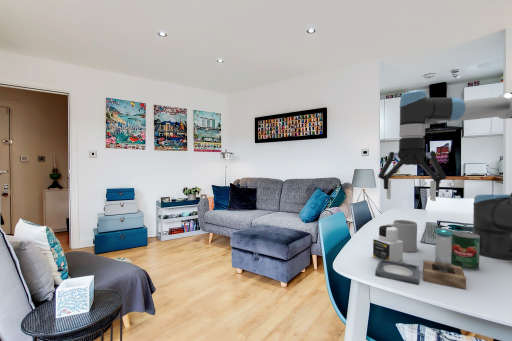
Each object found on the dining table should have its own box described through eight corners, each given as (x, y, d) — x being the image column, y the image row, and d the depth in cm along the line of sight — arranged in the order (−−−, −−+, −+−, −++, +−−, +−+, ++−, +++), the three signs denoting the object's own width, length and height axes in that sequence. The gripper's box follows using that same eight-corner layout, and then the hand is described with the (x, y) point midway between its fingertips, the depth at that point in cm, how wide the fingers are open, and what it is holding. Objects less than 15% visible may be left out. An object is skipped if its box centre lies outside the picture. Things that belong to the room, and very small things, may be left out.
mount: (460, 276, 82) (461, 266, 82) (465, 289, 74) (466, 278, 74) (423, 269, 88) (423, 260, 87) (423, 280, 79) (423, 270, 79)
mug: (417, 247, 109) (417, 221, 109) (416, 253, 102) (416, 225, 101) (385, 242, 116) (385, 217, 115) (382, 248, 108) (382, 221, 108)
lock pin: (451, 277, 81) (452, 229, 81) (452, 283, 78) (454, 232, 77) (433, 273, 84) (434, 227, 83) (433, 279, 80) (435, 230, 79)
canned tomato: (472, 262, 93) (473, 232, 93) (484, 271, 86) (485, 238, 85) (446, 260, 95) (446, 230, 95) (455, 268, 88) (456, 236, 88)
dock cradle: (418, 270, 86) (418, 265, 86) (418, 284, 76) (418, 279, 76) (380, 263, 92) (380, 258, 92) (375, 275, 83) (375, 270, 83)
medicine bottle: (372, 256, 99) (373, 225, 98) (386, 254, 101) (387, 223, 101) (388, 263, 92) (389, 229, 92) (403, 260, 95) (403, 227, 94)
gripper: (449, 137, 90) (447, 199, 91) (370, 139, 97) (369, 196, 98) (459, 135, 83) (457, 202, 84) (373, 137, 90) (372, 199, 91)
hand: (410, 199), depth 91 cm, fingers open, 13 cm apart
